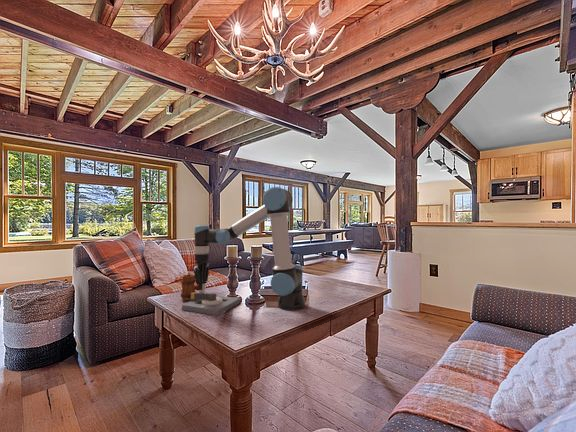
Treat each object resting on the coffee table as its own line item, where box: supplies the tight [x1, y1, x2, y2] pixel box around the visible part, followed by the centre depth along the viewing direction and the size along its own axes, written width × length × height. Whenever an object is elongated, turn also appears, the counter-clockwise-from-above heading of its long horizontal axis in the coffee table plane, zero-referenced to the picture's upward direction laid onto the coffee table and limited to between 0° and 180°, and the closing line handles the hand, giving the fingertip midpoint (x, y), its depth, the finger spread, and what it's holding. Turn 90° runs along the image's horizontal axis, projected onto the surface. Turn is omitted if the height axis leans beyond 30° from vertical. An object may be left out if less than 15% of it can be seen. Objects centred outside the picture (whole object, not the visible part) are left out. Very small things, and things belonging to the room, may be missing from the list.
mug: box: [180, 274, 199, 302], centre depth 172 cm, size 15×8×15 cm, turn 143°
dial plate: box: [181, 294, 241, 316], centre depth 159 cm, size 22×22×3 cm
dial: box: [191, 292, 223, 307], centre depth 159 cm, size 18×11×5 cm, turn 81°
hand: (201, 295), depth 162 cm, fingers closed
